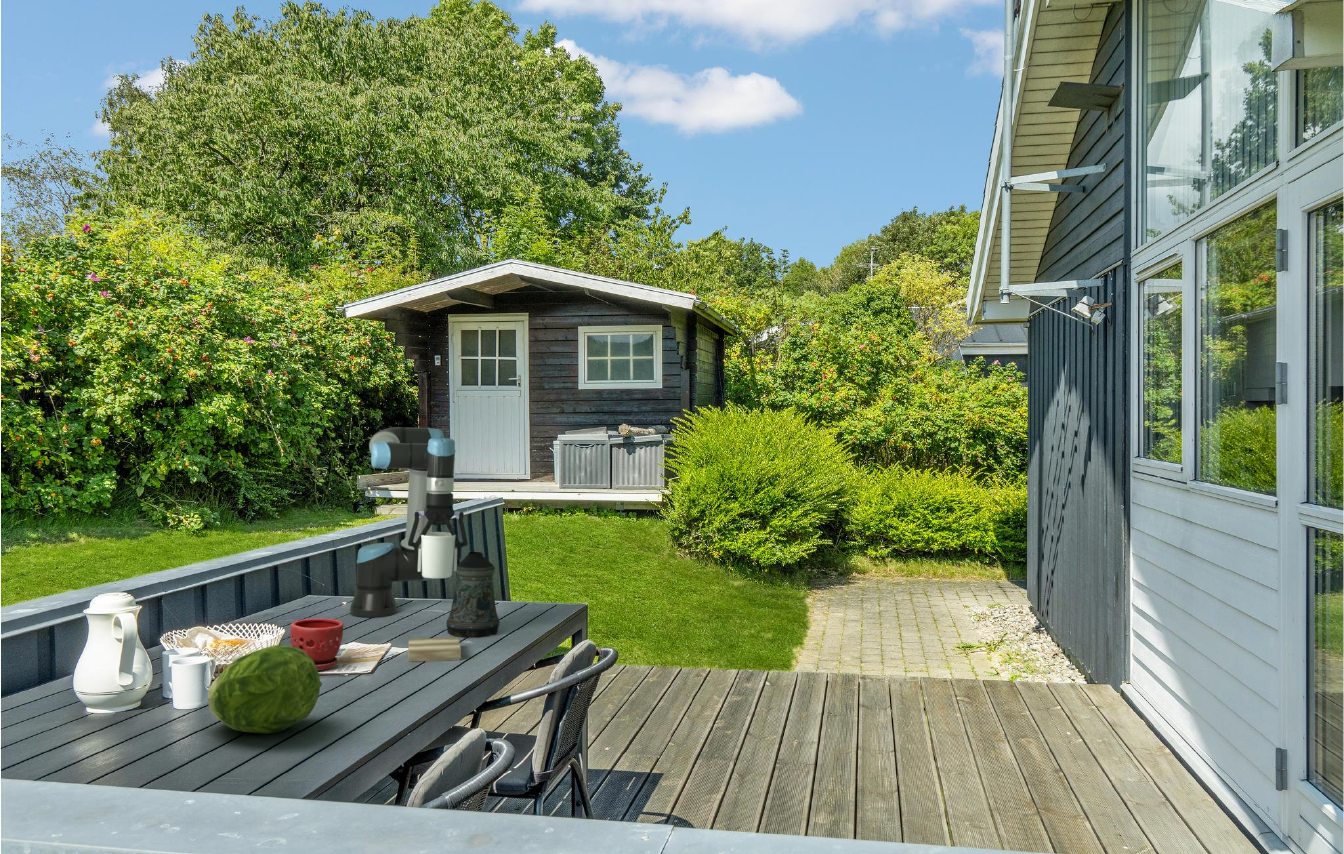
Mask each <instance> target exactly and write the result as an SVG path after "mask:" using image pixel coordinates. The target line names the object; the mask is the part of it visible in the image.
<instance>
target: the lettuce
mask: <svg viewBox="0 0 1344 854" xmlns="http://www.w3.org/2000/svg"><path fill="white" fill-rule="evenodd" d="M320 690H321V678H320V673H319V671H317V668H316V666H315V663H314V661H313V660H312V659H311V657H310V656H309V655H308V654H307V653H305V652H304V651H303V650H301V649H300V648H296V647H292V646H291V645H285V644H277V645H270V646H268V647H264V648H260V649H258V650H255V651H252V652H250V653H247V654H244V655H243V656H240V657H238V659H235V660H233V661H231V663H230V664H229V665H228V666H227V667H225V668H224V670H223V671H222V672H221V673H220V674H219V675H218V676H217V677H216V678H215V680H214V681H213V682H212V683H211V684H210V688H209V690H208V692H207V704H208V707H209V709H210V712H211V714H212V715H214V716H215V717H216V718H217V719H218V720H219V721H221V722H222V723H223V725H225V726H226V727H227V728H230V729H232V730H233V731H238V732H239V731H240V732H245V733H252V732H253V733H254V734H256V733H257V734H263V735H265V734H267V735H270V734H269V733H271V734H274V733H275V734H276V733H279V732H282V731H284V730H286V729H289V728H292V726H294V725H296V724H297V723H299V722H301V721H303V720H305V719H307V718H308V717H309V716H310V714H311V712H313V710H314V708H315V707H316V704H317V701H318V698H319V696H320Z"/></svg>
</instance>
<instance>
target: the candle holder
mask: <svg viewBox="0 0 1344 854" xmlns="http://www.w3.org/2000/svg"><path fill="white" fill-rule="evenodd" d="M456 536H457V534H456V535H453V536H452V535H451V533H450V532H448V531H447V532H444V531H442V532H441V531H432V532H427V534H426V535H421V539H422V542H421V564H422V576H423V577H425V578H433V579H447V578H451V577H452V576H453V563H454V548H455V547H456V543H455V537H456Z"/></svg>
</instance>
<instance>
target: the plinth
mask: <svg viewBox="0 0 1344 854" xmlns="http://www.w3.org/2000/svg"><path fill="white" fill-rule="evenodd" d="M408 651H409V652H408ZM408 651H407V652H408V663H414V662H415V661H417V662H415V663H419V662H418V661H425V662H443V661H442V660H451V661H456V660H455V659H462V647H461V644H460V640H459V637H456V636H453V637H429V638H428V637H427V638H408ZM453 659H454V660H453ZM439 660H441V661H439ZM412 661H414V662H412Z"/></svg>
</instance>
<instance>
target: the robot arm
mask: <svg viewBox="0 0 1344 854" xmlns="http://www.w3.org/2000/svg"><path fill="white" fill-rule="evenodd" d="M368 448H369V452H370V454H371V455H370V456H371V458H370V459H371V460H370V461H371V467H372V468H374V469H381V470H387V469H388V470H389V469H395V470H397V469H400V470H401V469H403V470H404V469H406V470H407V471H408V492H407V507H406V525H405V527H406V528H405V538H404V539H402V540H401V542H400V547H399V546H397V547H395V545H394V543H392V542H378V543H372V544H367V545H364V546H362V547H361V548H359V550H358V552H357V559H356V564H357V570H356V586H355V587H356V591H355V594H354V595H353V598H352V601H351V603H350V605H349V608H350V609H349V610H350V611H349V614H350V615H351V616H354V617H355V616H356V617H361V618H381V617H382V618H383V617H387V616H392V615H395V614H396V613H397V609H398V605H397V602H396V599H395V595H394V591H393V583H394V582H423V581H431V580H433V579H434V578H425V577H423V576H422V564H421V542H422V539H421V535H426V534H427V532H433V526H437V525H441V526H445V525H446V527H447V529H448V531H449V533H451V535H452V536H453V535H456V537H455V548H454V559H453V569H452V571H453V572H456V570H457V565H458V560H461V558H462V548H463V547H467V546H468V545H469V543H468V539H467V533H466V529H465V524H464V516H465V514H464V512H463V511H461V510H460V511H455V510H454V493H452V492H453V491H454V487H455V486H454V482H455V479H454V477H455V475H454V474H455V458H456V457H455V454H456V441H455V440H454V439H453V438H445V436H444V432H443V431H442V430H441V429H439V428H431V427H402V426H401V427H400V426H398V427H397V426H396V427H395V426H393V427H388V428H385V429H382V430H379V431H377V432H376V433H374V434H373V435H372V436H371V438H370V440H369V443H368ZM454 516H455V519H457V521H458V526H459V529H460V535H461V540H462V541H460V540H459V538H458V535H457V534H456V532H455V530H454V528H453V526H452V524H451V521H450V520H451V519H452V518H453V517H454Z"/></svg>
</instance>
